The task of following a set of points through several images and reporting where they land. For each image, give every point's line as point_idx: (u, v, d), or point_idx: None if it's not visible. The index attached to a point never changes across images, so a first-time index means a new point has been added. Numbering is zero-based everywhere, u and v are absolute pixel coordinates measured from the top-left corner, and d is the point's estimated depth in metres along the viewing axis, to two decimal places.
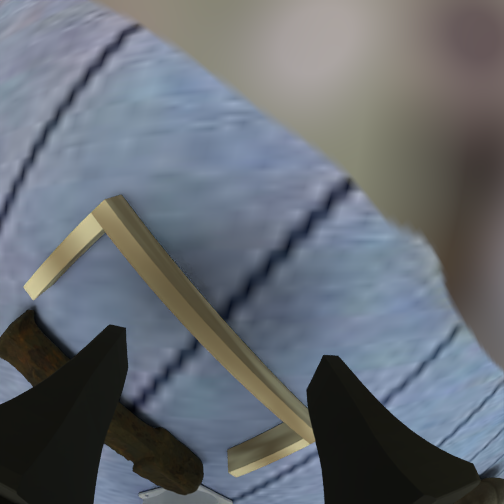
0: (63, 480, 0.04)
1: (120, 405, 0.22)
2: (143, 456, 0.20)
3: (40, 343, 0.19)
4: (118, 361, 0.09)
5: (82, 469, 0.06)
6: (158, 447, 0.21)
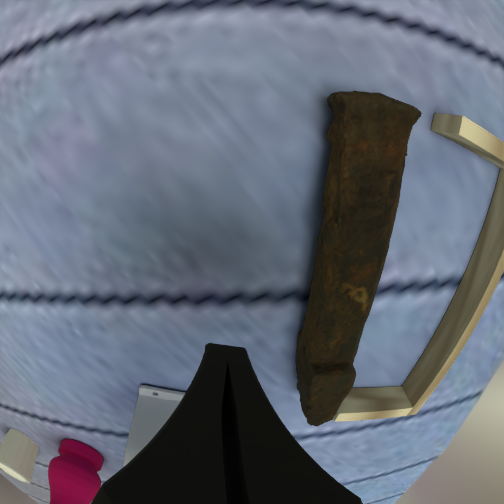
0: None
1: None
2: (348, 360, 0.18)
3: None
4: None
5: None
6: None
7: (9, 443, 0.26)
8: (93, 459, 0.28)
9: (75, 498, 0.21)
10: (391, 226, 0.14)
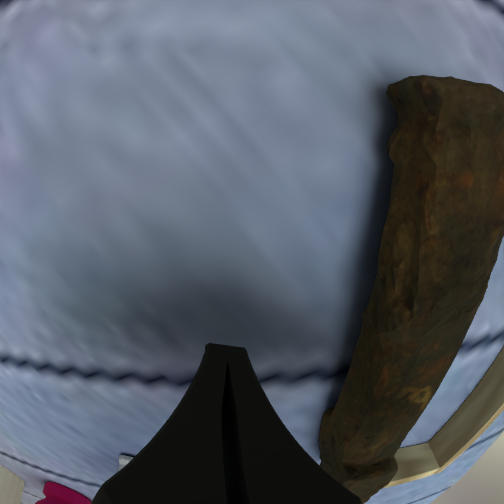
0: None
1: None
2: (390, 456, 0.11)
3: None
4: None
5: None
6: None
7: None
8: None
9: None
10: (480, 302, 0.08)
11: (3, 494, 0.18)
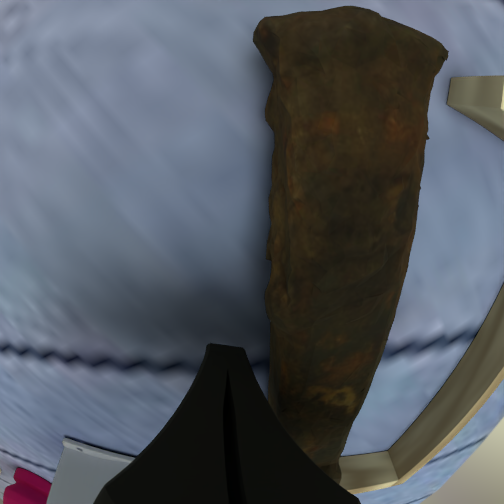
0: None
1: None
2: (329, 462, 0.10)
3: None
4: None
5: None
6: None
7: None
8: (46, 491, 0.20)
9: None
10: (400, 285, 0.07)
11: None
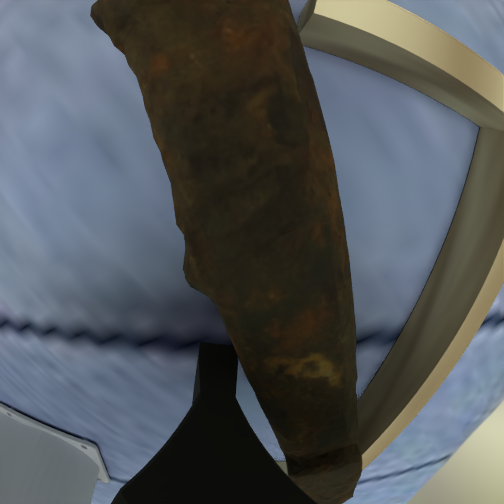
0: None
1: None
2: (342, 444, 0.09)
3: None
4: None
5: None
6: None
7: None
8: None
9: None
10: (329, 214, 0.06)
11: None
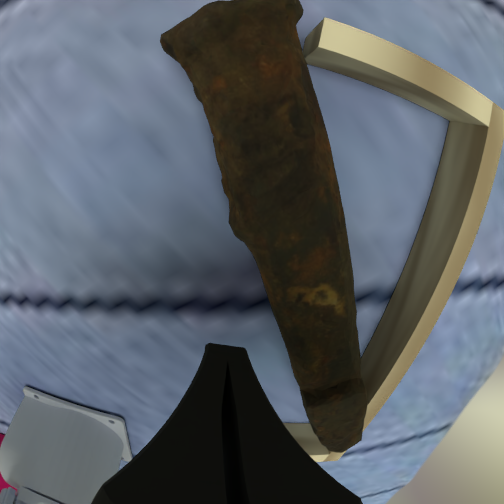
0: None
1: None
2: (349, 376, 0.12)
3: None
4: None
5: None
6: None
7: None
8: None
9: (0, 490, 0.17)
10: (328, 181, 0.09)
11: None
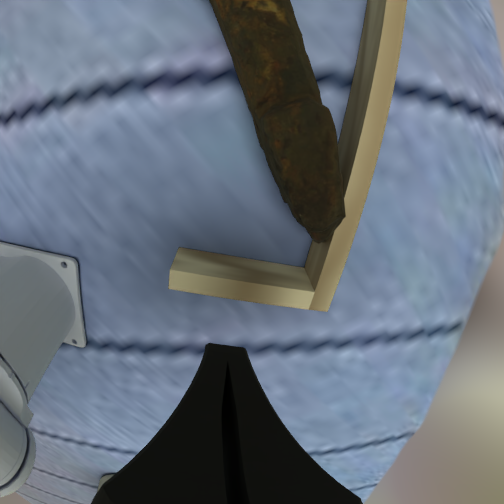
0: None
1: None
2: (307, 94, 0.12)
3: None
4: None
5: None
6: None
7: None
8: None
9: None
10: None
11: None
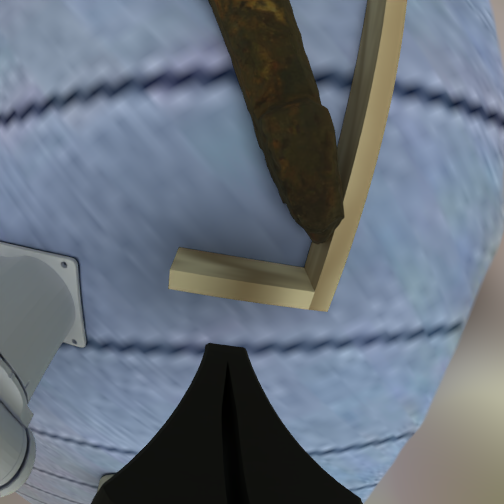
0: None
1: None
2: (306, 95, 0.12)
3: None
4: None
5: None
6: None
7: None
8: None
9: None
10: None
11: None
